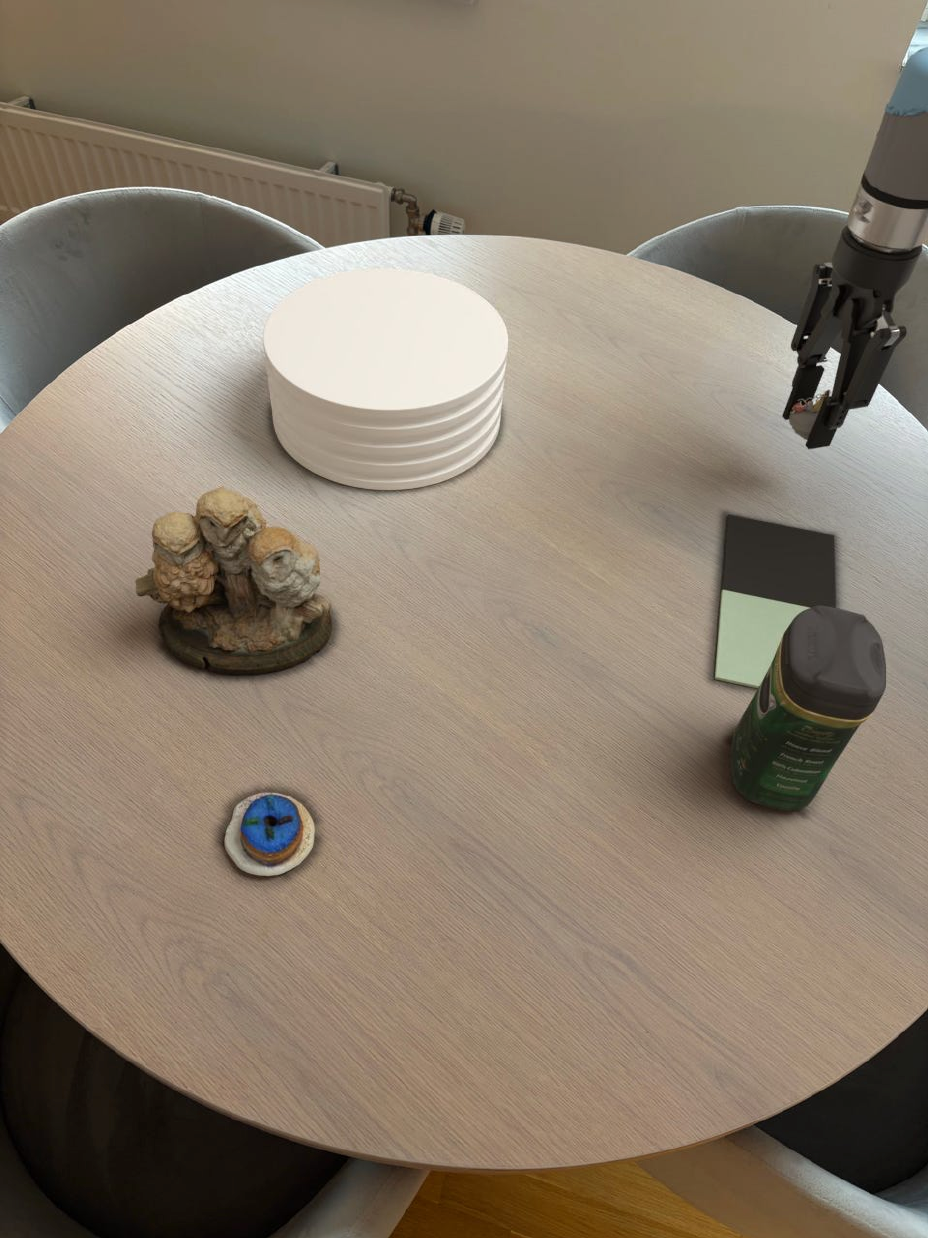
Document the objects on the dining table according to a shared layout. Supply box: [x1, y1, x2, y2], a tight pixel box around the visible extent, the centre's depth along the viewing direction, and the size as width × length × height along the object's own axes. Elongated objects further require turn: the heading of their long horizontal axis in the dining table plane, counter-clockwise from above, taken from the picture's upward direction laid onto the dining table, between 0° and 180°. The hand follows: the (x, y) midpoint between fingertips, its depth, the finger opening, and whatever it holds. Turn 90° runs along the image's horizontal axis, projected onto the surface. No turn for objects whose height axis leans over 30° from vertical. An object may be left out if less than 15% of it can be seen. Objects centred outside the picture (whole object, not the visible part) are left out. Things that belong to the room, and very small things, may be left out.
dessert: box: [223, 792, 316, 877], centre depth 80 cm, size 8×7×6 cm
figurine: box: [788, 389, 832, 441], centre depth 106 cm, size 5×4×6 cm
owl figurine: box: [134, 486, 333, 675], centre depth 88 cm, size 18×12×17 cm, turn 94°
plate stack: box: [262, 267, 509, 491], centre depth 113 cm, size 28×28×12 cm
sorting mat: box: [714, 513, 837, 689], centre depth 101 cm, size 24×12×1 cm, turn 167°
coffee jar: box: [730, 606, 887, 812], centre depth 81 cm, size 10×8×19 cm
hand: (805, 430), depth 108 cm, fingers closed on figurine, 5 cm apart
